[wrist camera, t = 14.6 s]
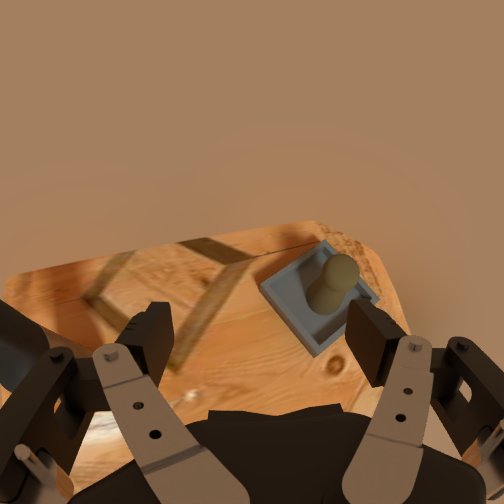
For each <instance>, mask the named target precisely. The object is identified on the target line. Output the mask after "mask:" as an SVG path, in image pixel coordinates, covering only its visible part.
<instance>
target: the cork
mask: <svg viewBox="0 0 504 504" xmlns="http://www.w3.org/2000/svg"><path fill="white" fill-rule="evenodd" d="M359 275H360V271H359V267H358V265H357V263H356V261H355V260H354V259H353V258H352V257H350V256H348V255H345V254H335V255H332V256H331V257H329V258H328V259H327V260H326V261H325V263H324V265H323V267H322V274H321V275H320V276H319V277H318V278H317V279H316V280H315V281H314V282H313V283H312V285H311V286H310V287H309V288H308V290H307V293H306V301H307V304H308V306H309V307H310V309H311V310H312V311H313V312H315V313H317V314H319V315H330V314H333V313H335V312H336V311H337V310H338V308H339V307H340V305H341V303H342V301H343V299H344V297H345V294H346V292H347V291H349V290H351V289H352V288H353V287H354V286H355V285H356V284H357V282H358V280H359Z"/></svg>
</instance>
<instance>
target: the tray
mask: <svg viewBox="0 0 504 504" xmlns="http://www.w3.org/2000/svg"><path fill="white" fill-rule="evenodd" d="M335 254H339V253H338V252H337V251H336V250H335V249H334V248H333V247H332V246H331V245H330V244H329V243H328V242H327V241H326V240H323V241H322V242H320V243H319V244H317V245H316V246H315V247H313V248H312V249H310V250H309V251H307V252H306V253H305V254H303V255H302V256H300V257H299V258H297V259H296V260H294V261H293V262H292V263H290V264H289V265H287V266H286V267H284V268H283V269H281V270H280V271H278V272H277V273H275V274H274V275H272V276H271V277H269V278H268V279H266V280H265V281H264V282H262V283H261V284H260V290H259V291H260V292H261V294H262V295H263V296H264V297H265V299H266V300H267V301H268V302H269V304H270V305H271V306H272V307H273V309H274V310H275V311H276V312H277V314H278V315H279V316H280V317H281V319H282V320H283V321H284V322H285V323H286V325H287V326H288V327H289V328H290V330H291V331H292V332H293V333H294V335H295V336H296V337H297V338H298V339H299V341H300V342H301V343H302V344H303V345H304V347H305V348H306V349H307V350H308V352H309V353H310V354H311V355H312V356H313V358H315V357H316V356H318V355H319V354H320V353H322V352H323V351H324V350H325V349H326V348H327V347H329V346H330V345H331V344H332V343H333V342H334V341H336V340H337V339H338V338H339V337H340V336H341V335H342V334H344V333H345V327H346V321H347V315H348V309H349V303H350V301H351V300H352V299H365V298H367V299H368V300H369V301H370V302H371V303H372V304H373V305H375V304H376V303H377V302H378V301H379V300H380V298H379V297H378V296H377V295H376V294H375V293H374V292H373V291H372V289H371V288H370V287H369V286H368V285H367V284H366V283H365V282H364V280H363V279H362V278H361V277H360V276H359V280H358V282H357V284H356V285H355V286H354V287H353V288H352V289H351V290H349V291H347V292H346V294H345V297H344V299H343V301H342V303H341V305H340V307H339V308H338V310H337V311H336V312H335V313H333V314H330V315H319V314H317V313H315V312H313V311H312V310H311V309H310V307H309V306H308V304H307V301H306V293H307V290H308V288H309V287H310V286H311V285H312V283H313V282H314V281H315V280H316V279H317V278H318V277H319V276H320V275H321V274H322V267H323V265H324V263H325V261H326V260H327V259H328V258H329V257H331V256H332V255H335Z"/></svg>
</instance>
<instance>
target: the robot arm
mask: <svg viewBox="0 0 504 504" xmlns="http://www.w3.org/2000/svg"><path fill="white" fill-rule="evenodd" d="M345 339H346V342H347V344H348V346H349V348H350V349H351V351H352V353H353V355H354V356H355V358H356V360H357V362H358V363H359V365H360V367H361V369H362V370H363V372H364V374H365V376H366V377H367V379H368V381H369V383H370V385H371V386H372V388H375V387H380V386H383V387H384V389H383V392H382V395H381V397H380V400H379V402H378V405H377V407H376V410H375V412H374V415H373V417H372V418H370V417H368V416H365V415H361V414H357V413H351V412H343V410H342V407H341V405H340V403H338V404H331V405H324V406H315V407H308V408H305V409H302V410H298V411H295V412H291V413H287V414H283V415H279V416H272V415H265V414H258V413H252V412H246V411H216V410H209V413H208V419H207V420H201V421H197V422H193V423H190V424H187V425H185V426H184V424H183V423H182V422H181V420H180V419H179V418H178V417H177V415H176V414H175V413H174V411H173V410H172V408H171V407H170V406H169V404H168V403H167V401H166V400H165V399H164V397H163V396H162V394H161V393H160V391H159V390H158V386H159V383H160V381H161V378H162V375H163V372H164V370H165V367H166V364H167V362H168V359H169V356H170V354H171V351H172V348H173V345H174V330H173V323H172V316H171V308H170V304H169V302H151V304H150V305H149V306H148V308H147V309H146V311H145V312H140V313H138V314H137V315H135V316H133V317H132V319H131V320H130V321H129V323H128V324H127V326H126V327H125V329H124V330H123V331H122V333H121V334H120V336H119V337H118V338H117V340H116V341H115V343H110V344H105V345H103V346H100V347H99V348H97V349H96V350H95V351H93V350H91V349H89V348H86V347H84V346H82V345H80V344H77V343H75V342H73V341H71V340H69V339H67V338H65V337H63V336H61V335H59V334H57V333H55V332H53V331H51V330H49V329H47V328H45V327H43V326H41V325H39V324H37V323H35V322H34V321H32V320H30V319H28V318H27V317H25V316H24V315H22V314H21V313H20V312H18V311H17V310H15V309H14V308H13V307H11V306H10V305H8V304H6V303H5V302H3V301H2V300H0V384H1V385H2V386H3V387H4V388H5V389H7V390H8V391H10V392H12V394H11V395H10V397H9V398H8V400H7V401H6V402H5V404H4V405H3V406H2V408H1V409H0V504H486V500H495V499H497V498H499V497H500V496H502V495H503V494H504V372H503V371H502V370H501V369H500V368H499V367H498V366H497V365H496V364H495V363H494V362H493V361H492V360H491V359H490V358H489V357H488V356H487V355H486V354H485V353H484V352H483V351H482V350H481V349H480V348H479V347H478V346H477V345H476V344H474V342H472V341H471V340H469V339H467V338H464V337H452V338H450V340H449V341H448V344H447V347H446V348H432V345H431V343H430V342H429V341H428V340H426V339H425V338H422V337H419V336H415V335H407V334H406V333H405V332H404V331H403V330H402V328H401V327H400V326H399V325H398V324H396V322H395V321H394V320H393V319H392V318H391V317H390V316H389V315H388V314H387V313H386V312H385V311H383V310H381V309H379V308H376V307H375V306H374V305H373V304H372V303H371V302H370V301H369V300H368V299H367V298H365V299H352V300H351V301H350V303H349V309H348V315H347V321H346V327H345ZM463 380H464V381H465V382H466V383H467V384H468V385H469V387H470V388H471V391H472V397H471V400H470V402H469V403H468V401H467V400H466V399H465V397H464V396H463V395H462V393H461V392H460V391H459V388H460V386H461V385H462V383H463ZM56 402H61V403H60V405H59V406H58V408H57V410H56V412H55V414H54V406H55V403H56ZM430 404H431V406H432V407H433V409H434V411H435V412H436V414H437V415H438V417H439V419H440V421H441V422H442V424H443V426H444V427H445V429H446V431H447V432H448V434H449V436H450V438H451V439H452V441H453V443H454V445H455V447H456V448H457V450H458V452H459V454H460V456H461V457H462V460H461V461H460V460H458V459H456V458H453V457H451V456H448V455H446V454H444V453H441V452H439V451H437V450H435V449H433V448H431V447H428V446H426V445H424V444H422V440H423V437H424V432H425V427H426V422H427V417H428V412H429V406H430ZM98 411H112V413H113V415H114V418H115V420H116V422H117V424H118V426H119V429H120V431H121V433H122V435H123V437H124V439H125V441H126V443H127V445H128V447H129V449H130V451H131V453H132V455H133V457H134V458H135V459H133V460H132V461H130V462H129V463H127V464H126V465H124V466H122V467H121V468H119V469H118V470H116V471H114V472H113V473H111V474H110V475H108V476H106V477H105V478H103V479H101V480H99V481H98V482H96V483H94V484H92V485H91V486H89V487H87V488H85V489H84V490H82V491H80V492H78V493H77V494H75V495H73V492H74V485H73V482H72V480H71V478H70V477H69V475H70V472H71V469H72V467H73V464H74V461H75V459H76V456H77V454H78V451H79V449H80V446H81V444H82V441H83V439H84V436H85V434H86V432H87V429H88V427H89V425H90V422H91V420H92V418H93V415H94V413H95V412H98Z"/></svg>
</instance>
